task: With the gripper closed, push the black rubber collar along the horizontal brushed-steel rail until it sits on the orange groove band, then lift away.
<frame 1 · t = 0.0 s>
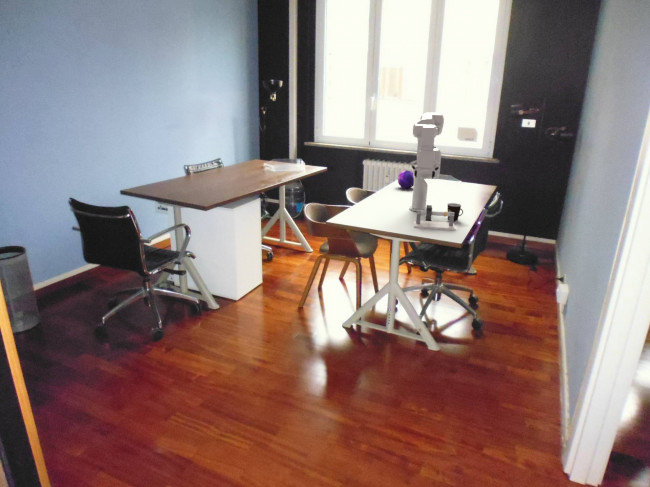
hand: (424, 177, 282), 31 cm above the table, fingers open, 9 cm apart
coffee mug: (453, 220, 310), on the table
rail fixture: (434, 225, 297), on the table
decorative orb: (406, 188, 400), on the table
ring: (428, 213, 295), point 8 cm above the table, slide at 0.0 cm
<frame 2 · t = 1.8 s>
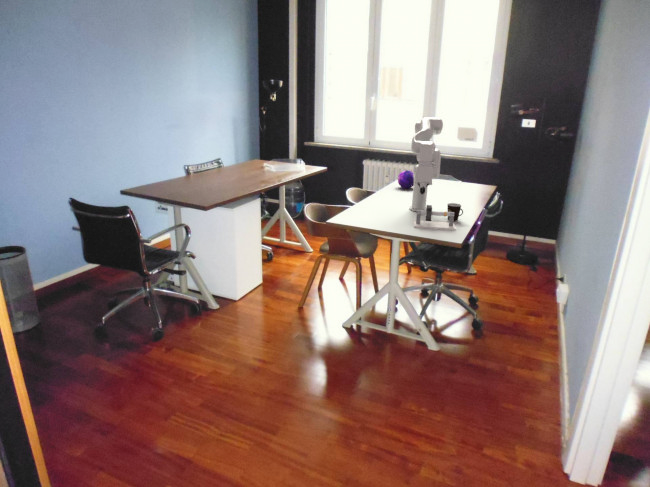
hand: (422, 193, 291), 20 cm above the table, fingers closed
nothing on the table moved.
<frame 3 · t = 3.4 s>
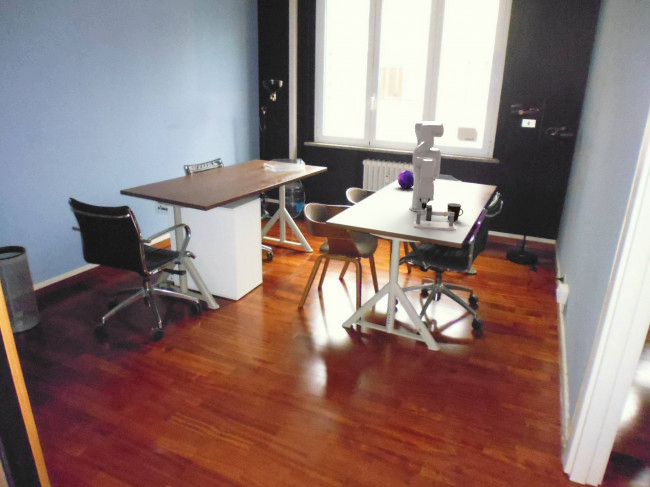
hand: (423, 209, 295), 10 cm above the table, fingers closed
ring: (428, 213, 295), point 8 cm above the table, slide at 0.1 cm, touching gripper
everything else where it was.
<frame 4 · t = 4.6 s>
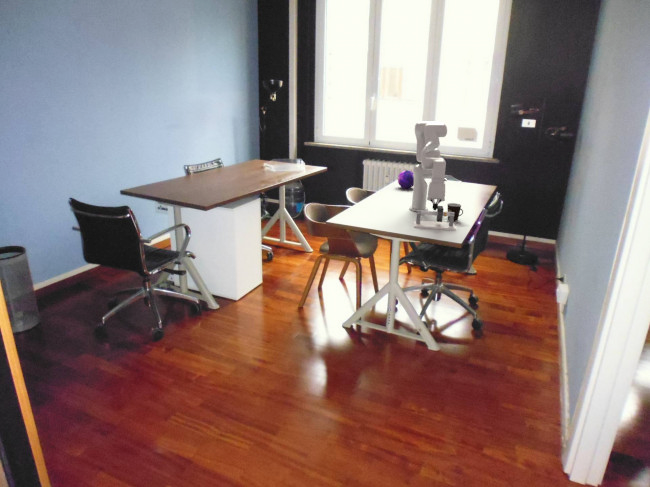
hand: (434, 209, 294), 10 cm above the table, fingers closed
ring: (439, 213, 294), point 8 cm above the table, slide at 6.8 cm, touching gripper
everything else where it was.
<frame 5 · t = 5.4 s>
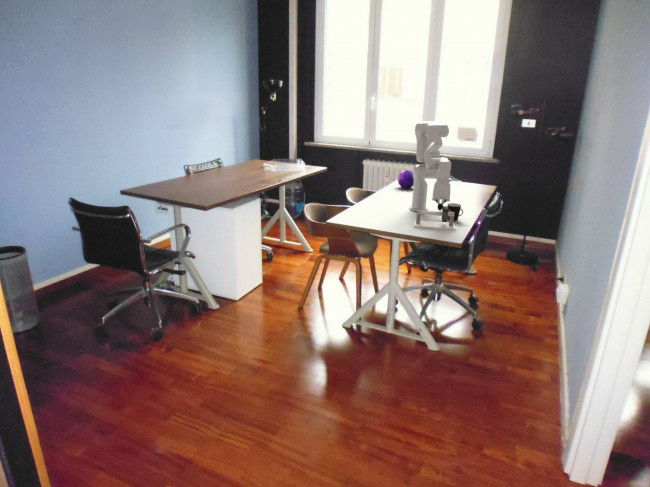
hand: (439, 210, 293), 10 cm above the table, fingers closed
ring: (445, 214, 294), point 8 cm above the table, slide at 9.8 cm, touching gripper
everything else where it was.
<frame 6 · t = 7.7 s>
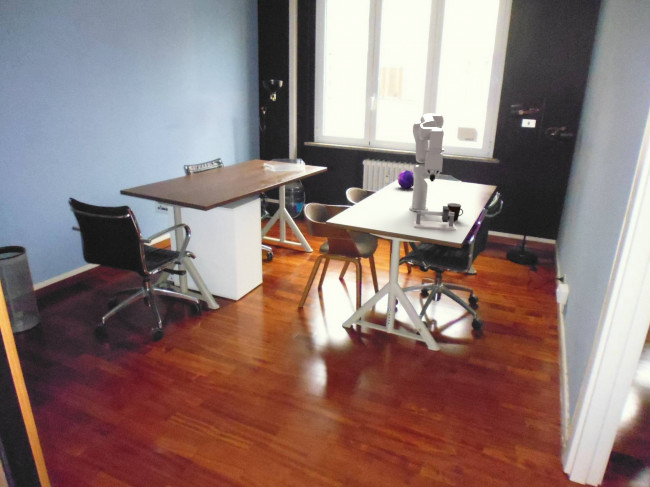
hand: (432, 181, 291), 27 cm above the table, fingers closed
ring: (445, 214, 294), point 8 cm above the table, slide at 10.0 cm
everything else where it was.
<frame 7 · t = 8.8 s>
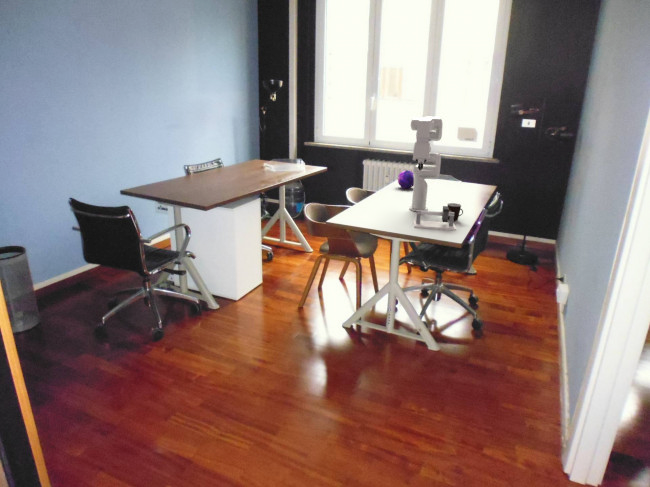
hand: (420, 169, 301), 32 cm above the table, fingers closed
nothing on the table moved.
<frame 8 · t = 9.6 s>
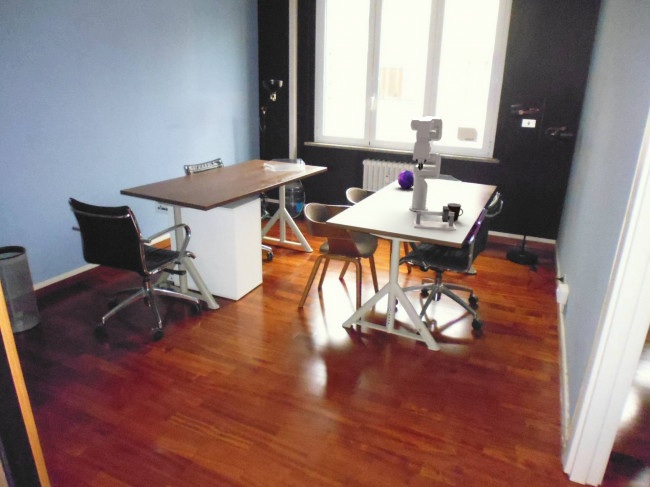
hand: (420, 169, 301), 32 cm above the table, fingers closed
nothing on the table moved.
at the end: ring slide at 10.0 cm; the gripper is holding nothing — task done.
